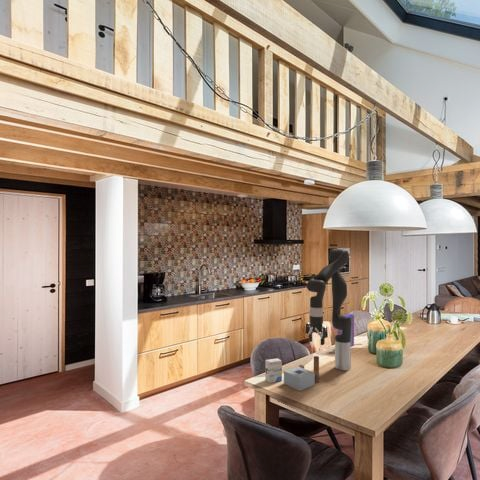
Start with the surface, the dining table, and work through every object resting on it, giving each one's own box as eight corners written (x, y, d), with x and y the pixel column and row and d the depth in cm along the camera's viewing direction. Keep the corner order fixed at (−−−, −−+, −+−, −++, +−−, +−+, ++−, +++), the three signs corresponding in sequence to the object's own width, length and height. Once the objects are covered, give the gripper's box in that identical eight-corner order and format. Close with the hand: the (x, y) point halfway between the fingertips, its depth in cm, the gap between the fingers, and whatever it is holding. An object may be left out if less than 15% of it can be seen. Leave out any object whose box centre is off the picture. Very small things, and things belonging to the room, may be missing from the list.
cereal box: (343, 350, 259) (343, 317, 259) (337, 349, 262) (337, 316, 263) (354, 345, 272) (354, 314, 272) (348, 344, 275) (348, 313, 275)
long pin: (315, 380, 203) (316, 355, 203) (320, 381, 200) (320, 357, 200) (312, 381, 201) (312, 356, 201) (316, 382, 198) (316, 358, 199)
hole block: (298, 378, 205) (298, 366, 205) (314, 385, 195) (314, 372, 195) (283, 383, 197) (283, 371, 197) (299, 390, 188) (299, 377, 188)
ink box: (278, 377, 206) (278, 357, 206) (282, 381, 201) (282, 360, 201) (264, 380, 203) (264, 359, 203) (268, 383, 198) (268, 362, 198)
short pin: (301, 374, 211) (301, 364, 211) (305, 375, 209) (305, 365, 209) (298, 375, 209) (298, 365, 210) (301, 377, 207) (302, 366, 207)
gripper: (330, 316, 198) (330, 344, 197) (311, 312, 209) (311, 339, 209) (321, 317, 193) (321, 347, 193) (302, 313, 204) (302, 341, 204)
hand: (316, 343), depth 201 cm, fingers open, 8 cm apart
